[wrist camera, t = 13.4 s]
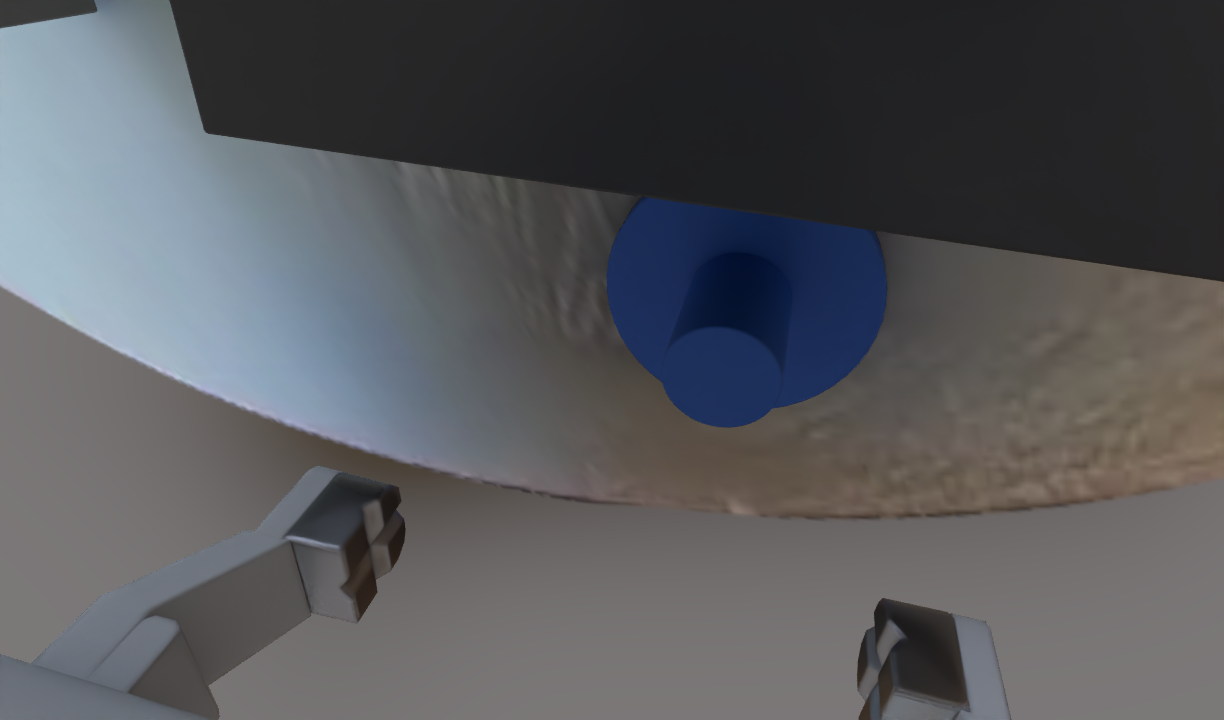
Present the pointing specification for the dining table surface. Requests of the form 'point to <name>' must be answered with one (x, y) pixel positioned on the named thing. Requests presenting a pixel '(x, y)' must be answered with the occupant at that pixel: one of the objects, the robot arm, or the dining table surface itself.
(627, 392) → the dining table surface
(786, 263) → the lid
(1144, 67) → the dark grey drawer cabinet
